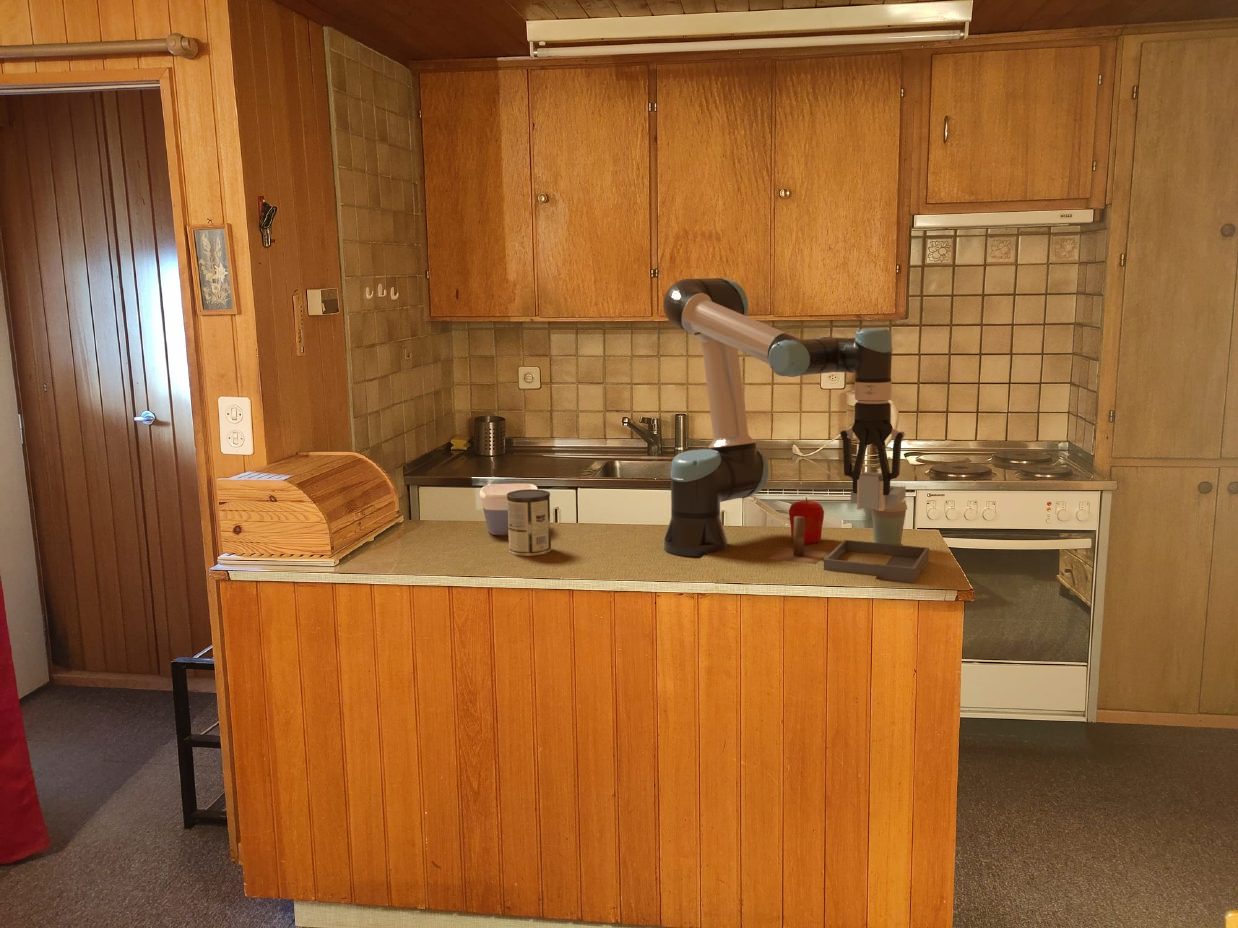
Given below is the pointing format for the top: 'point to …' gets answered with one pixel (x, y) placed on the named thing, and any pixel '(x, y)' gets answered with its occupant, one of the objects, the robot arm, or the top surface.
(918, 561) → the tray
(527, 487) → the plastic food container
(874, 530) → the coffee cup
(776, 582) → the top surface
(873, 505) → the ring
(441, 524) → the top surface
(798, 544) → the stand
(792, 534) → the apple
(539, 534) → the coffee can
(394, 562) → the top surface
